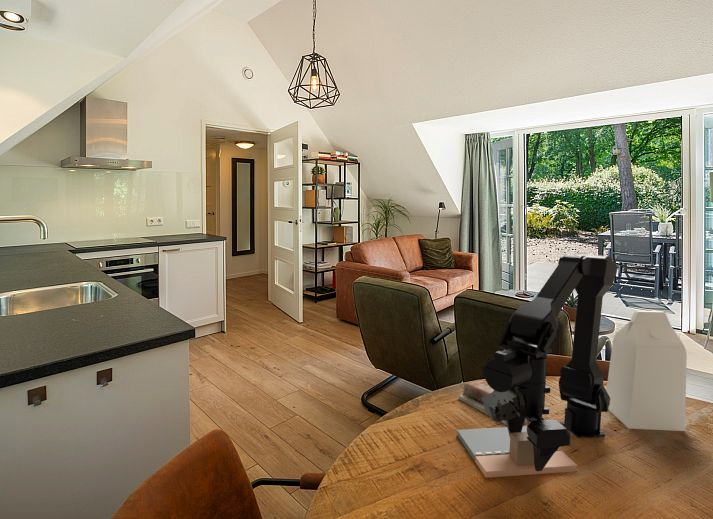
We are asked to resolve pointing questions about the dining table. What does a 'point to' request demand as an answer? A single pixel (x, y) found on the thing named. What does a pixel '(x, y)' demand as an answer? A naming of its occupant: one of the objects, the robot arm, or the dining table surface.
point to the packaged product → (477, 395)
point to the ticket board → (487, 441)
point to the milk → (648, 374)
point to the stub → (522, 460)
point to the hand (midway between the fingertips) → (525, 456)
